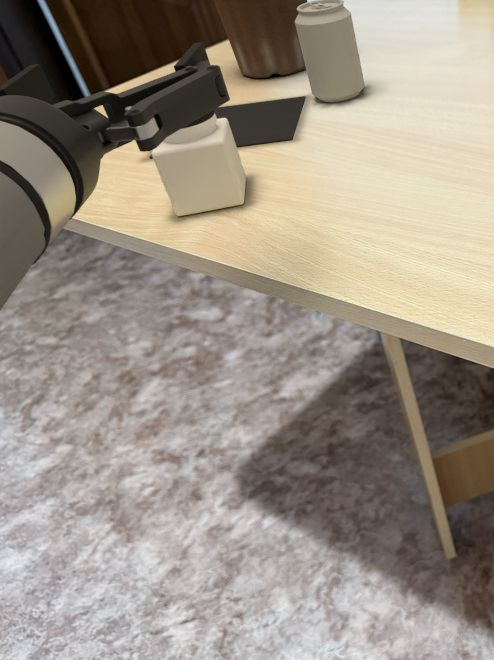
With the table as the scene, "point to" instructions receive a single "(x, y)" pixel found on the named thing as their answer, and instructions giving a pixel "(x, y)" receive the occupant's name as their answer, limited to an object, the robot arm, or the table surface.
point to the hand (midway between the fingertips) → (123, 70)
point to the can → (329, 50)
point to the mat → (262, 120)
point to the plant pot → (263, 35)
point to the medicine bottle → (201, 167)
